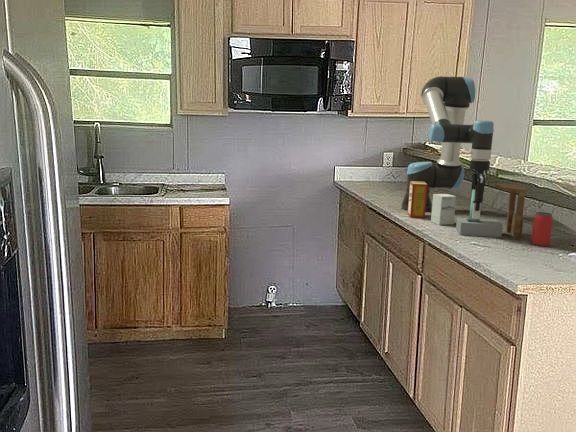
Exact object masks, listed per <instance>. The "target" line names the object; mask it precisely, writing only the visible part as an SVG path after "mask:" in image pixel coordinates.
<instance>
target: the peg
mask: <svg viewBox="0 0 576 432" xmlns="http://www.w3.org/2000/svg"><path fill="white" fill-rule="evenodd" d="M470 196H471V195H470ZM473 201H475V189H472V196H471V197H470V208H469V222H479V221H480V219H481V218H480V219H472V215H473V204H474V203H473ZM481 209H482V207H481V208H480V212H481Z"/></svg>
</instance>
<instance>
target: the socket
mask: <svg viewBox="0 0 576 432" xmlns="http://www.w3.org/2000/svg"><path fill="white" fill-rule="evenodd" d="M503 229H504V225H503V223H501V222H500V221H499V220H497V219H490V218H489V219H485V218H484V219H483V218H480V221H479V222H469V218H467V217H457V218H456V228H455V230H456V232H457V233H458V234H459V235H460V236H475V237H489V238H491V237H492V238H493V237H494V238H502V237H503V235H502V234H503Z"/></svg>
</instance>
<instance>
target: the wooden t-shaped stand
mask: <svg viewBox="0 0 576 432" xmlns="http://www.w3.org/2000/svg"><path fill="white" fill-rule="evenodd" d="M493 186H494V187H495V188H496V189H499V190H500V191H502V192H509V198H508V207H507V217H506V223H505V224H506V227H505V232H506V233H511V235H513V239H514V240H522V239H523V238H522V237H523V228H524V219H523V217H524V216H523V215H524V208H525V198H526V193H527V192H528V188H526V187H524V186H522V185H520V184H518V183H503V182H501V183H500V182H498V183H497V182H494V185H493ZM516 201H517V202H516ZM515 207H516V208H515ZM515 209H516V210H515ZM515 211H516V212H515Z"/></svg>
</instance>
